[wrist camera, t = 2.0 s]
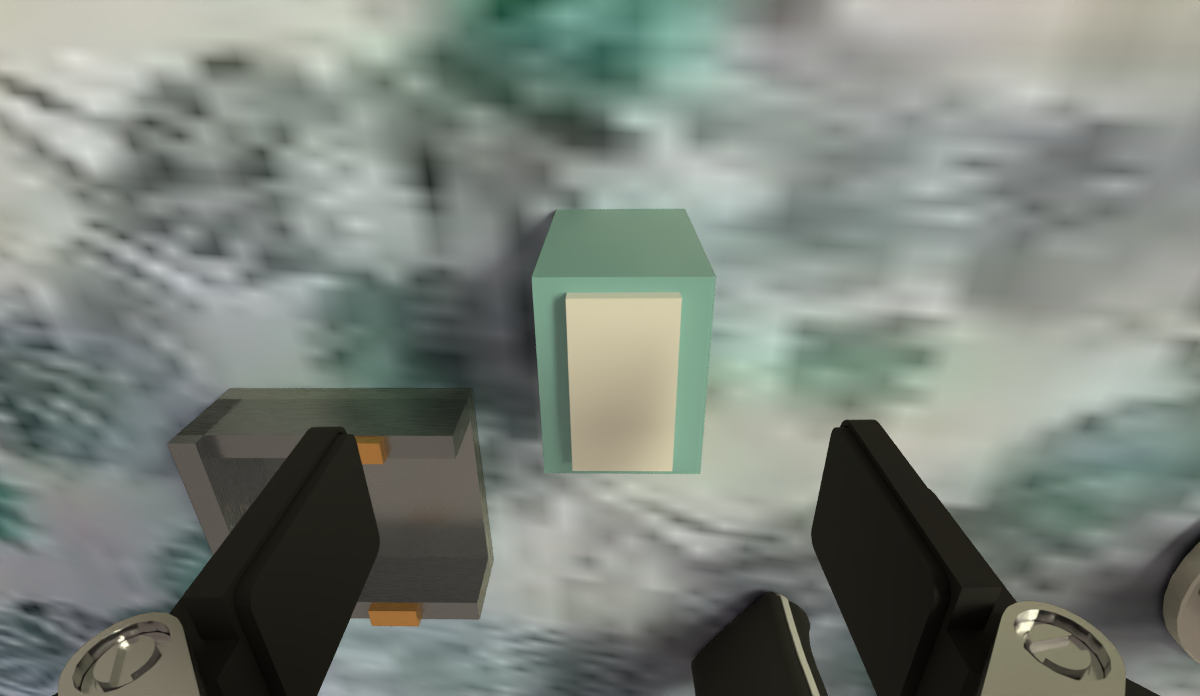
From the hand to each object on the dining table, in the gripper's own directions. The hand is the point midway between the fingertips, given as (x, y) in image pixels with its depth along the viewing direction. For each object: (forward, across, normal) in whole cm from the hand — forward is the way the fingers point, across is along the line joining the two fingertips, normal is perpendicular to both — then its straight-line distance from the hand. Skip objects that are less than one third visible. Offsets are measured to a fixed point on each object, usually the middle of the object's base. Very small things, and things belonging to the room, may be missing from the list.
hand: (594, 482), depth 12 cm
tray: (+12, +10, +9) cm, 18 cm away
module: (+11, -1, 0) cm, 11 cm away
